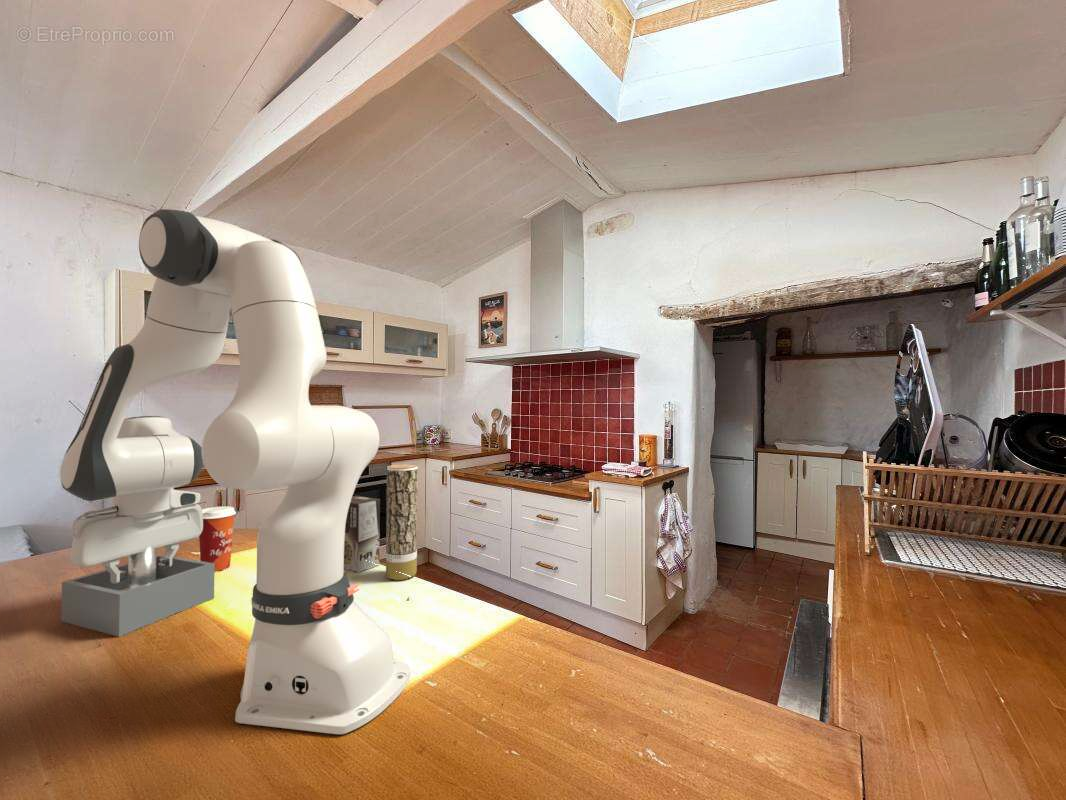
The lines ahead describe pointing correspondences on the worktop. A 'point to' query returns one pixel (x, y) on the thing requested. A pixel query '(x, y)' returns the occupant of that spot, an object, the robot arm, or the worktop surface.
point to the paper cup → (217, 536)
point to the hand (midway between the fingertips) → (142, 574)
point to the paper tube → (401, 521)
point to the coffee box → (362, 534)
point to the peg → (142, 568)
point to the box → (135, 597)
